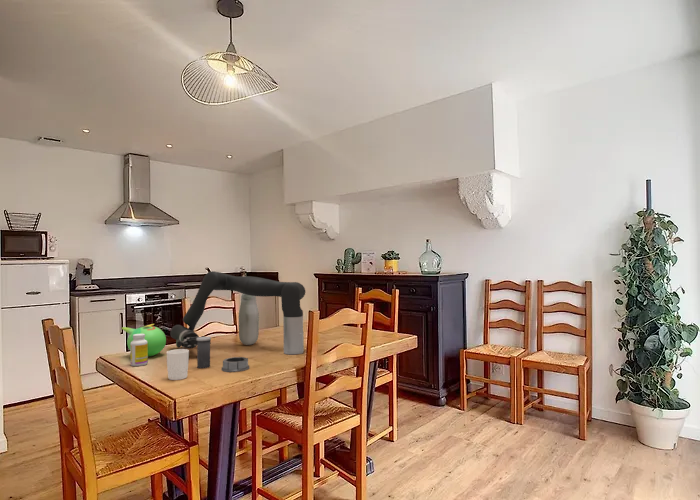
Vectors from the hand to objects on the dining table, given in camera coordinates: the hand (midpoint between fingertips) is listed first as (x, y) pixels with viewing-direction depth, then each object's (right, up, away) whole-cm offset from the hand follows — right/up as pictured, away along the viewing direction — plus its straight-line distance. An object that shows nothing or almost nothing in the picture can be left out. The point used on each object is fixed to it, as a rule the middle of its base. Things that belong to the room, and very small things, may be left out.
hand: (197, 344), depth 190 cm
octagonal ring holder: (+20, -7, -13) cm, 25 cm away
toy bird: (-28, -8, +11) cm, 31 cm away
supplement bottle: (-23, -8, -5) cm, 25 cm away
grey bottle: (+14, -8, +36) cm, 39 cm away
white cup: (+2, -7, -26) cm, 27 cm away
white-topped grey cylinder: (+6, -7, -10) cm, 13 cm away
